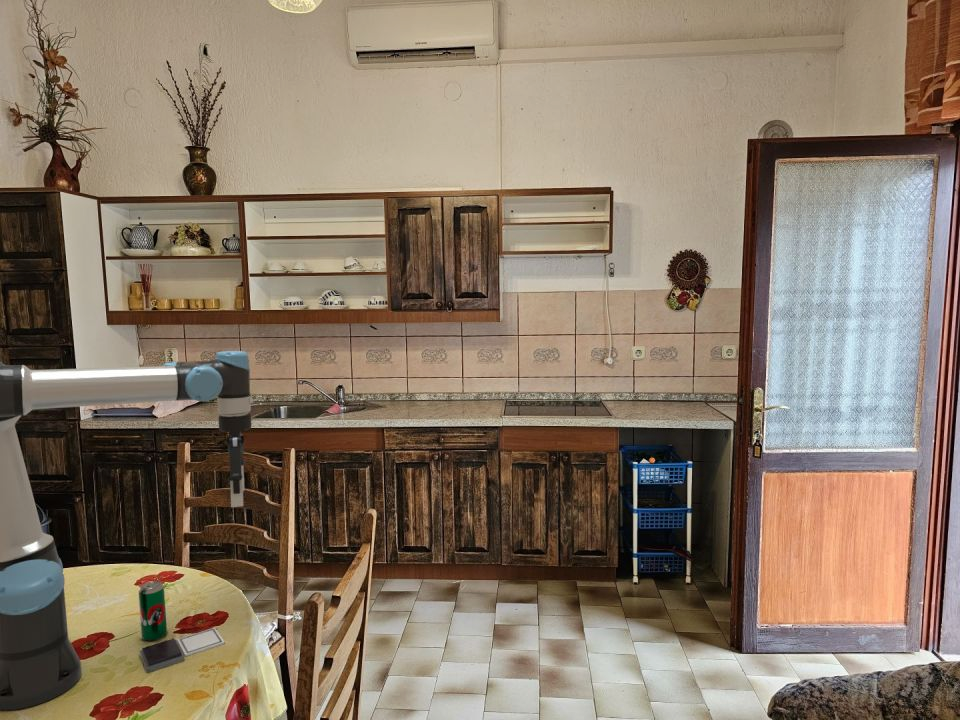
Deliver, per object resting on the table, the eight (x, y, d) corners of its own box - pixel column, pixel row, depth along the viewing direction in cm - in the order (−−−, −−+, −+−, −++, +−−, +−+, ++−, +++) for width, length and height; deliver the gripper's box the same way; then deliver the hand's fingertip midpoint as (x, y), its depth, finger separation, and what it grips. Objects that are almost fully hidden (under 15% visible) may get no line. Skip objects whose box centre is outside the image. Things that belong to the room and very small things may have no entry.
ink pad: (147, 673, 127) (146, 664, 127) (140, 655, 133) (139, 647, 133) (184, 660, 131) (183, 652, 131) (176, 644, 137) (175, 636, 137)
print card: (185, 656, 132) (185, 654, 132) (177, 641, 139) (176, 638, 139) (224, 643, 137) (224, 641, 137) (215, 629, 144) (214, 627, 144)
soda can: (171, 630, 143) (168, 580, 142) (158, 642, 138) (154, 590, 137) (151, 630, 144) (147, 579, 143) (136, 641, 139) (133, 589, 138)
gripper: (250, 421, 144) (254, 511, 146) (251, 405, 168) (254, 483, 169) (215, 423, 142) (219, 515, 143) (220, 407, 165) (224, 486, 167)
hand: (238, 498), depth 156 cm, fingers open, 13 cm apart
